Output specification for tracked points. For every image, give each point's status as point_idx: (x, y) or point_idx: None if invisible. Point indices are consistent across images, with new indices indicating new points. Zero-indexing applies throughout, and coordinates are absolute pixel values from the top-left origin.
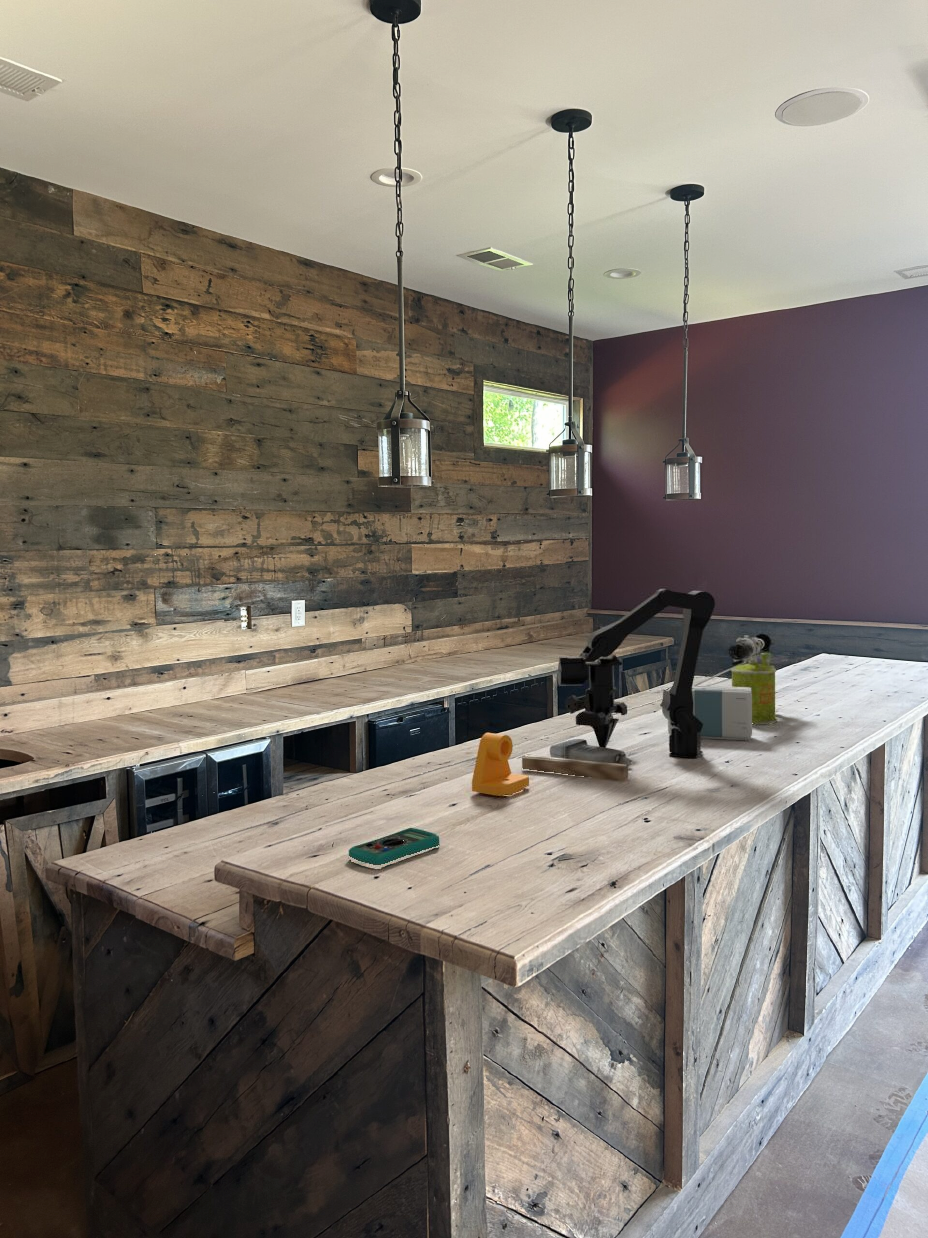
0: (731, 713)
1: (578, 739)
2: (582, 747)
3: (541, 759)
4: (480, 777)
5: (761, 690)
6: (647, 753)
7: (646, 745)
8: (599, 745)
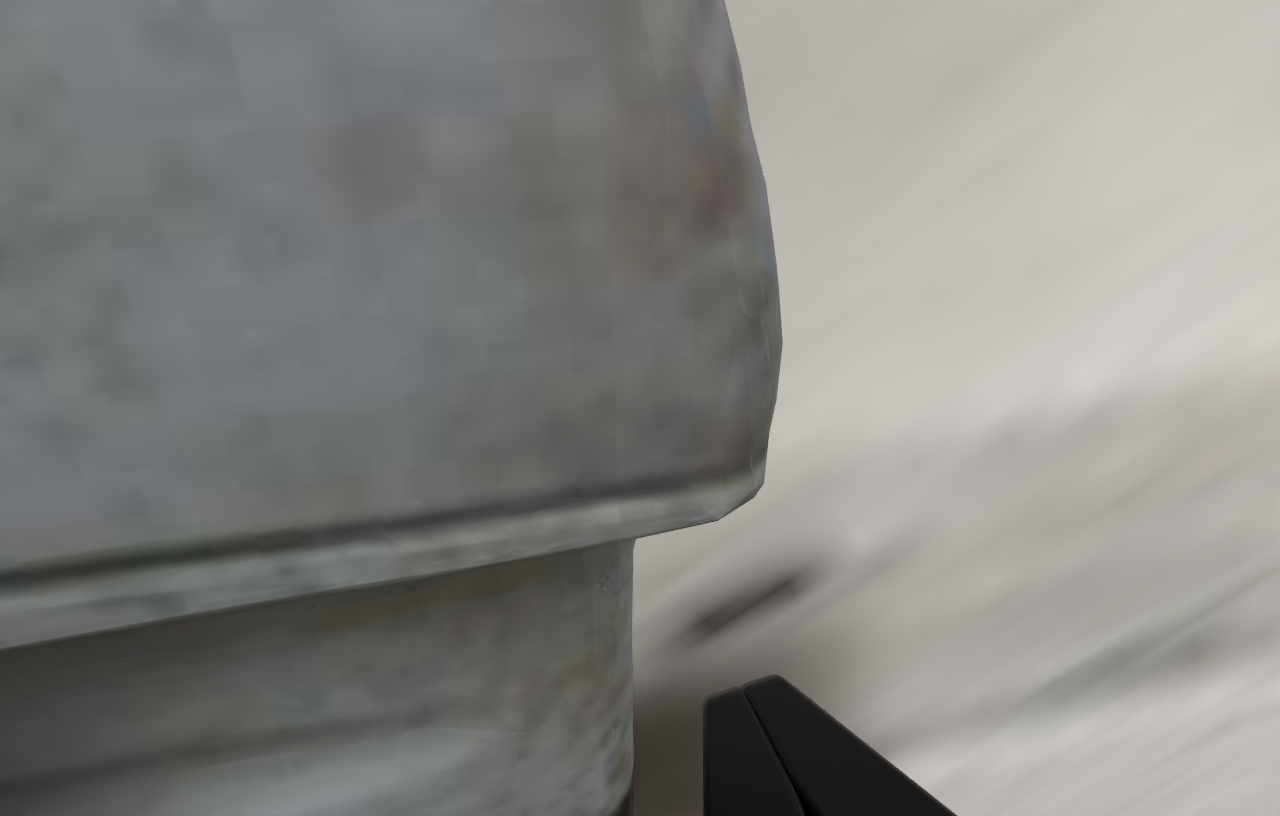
0: None
1: (564, 276)
2: (7, 789)
3: None
4: None
5: None
6: (1227, 748)
7: None
8: (708, 786)
